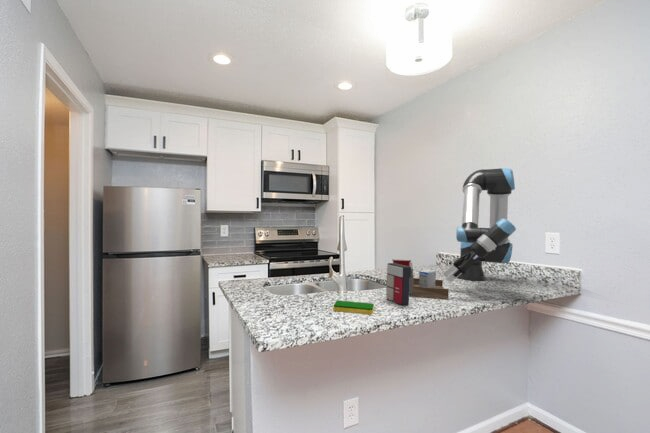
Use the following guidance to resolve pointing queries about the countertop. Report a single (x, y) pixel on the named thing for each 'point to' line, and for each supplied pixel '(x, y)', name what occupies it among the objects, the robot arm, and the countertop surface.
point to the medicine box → (427, 278)
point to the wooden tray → (426, 288)
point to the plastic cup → (402, 261)
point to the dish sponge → (354, 307)
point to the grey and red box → (398, 283)
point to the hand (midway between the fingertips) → (446, 278)
